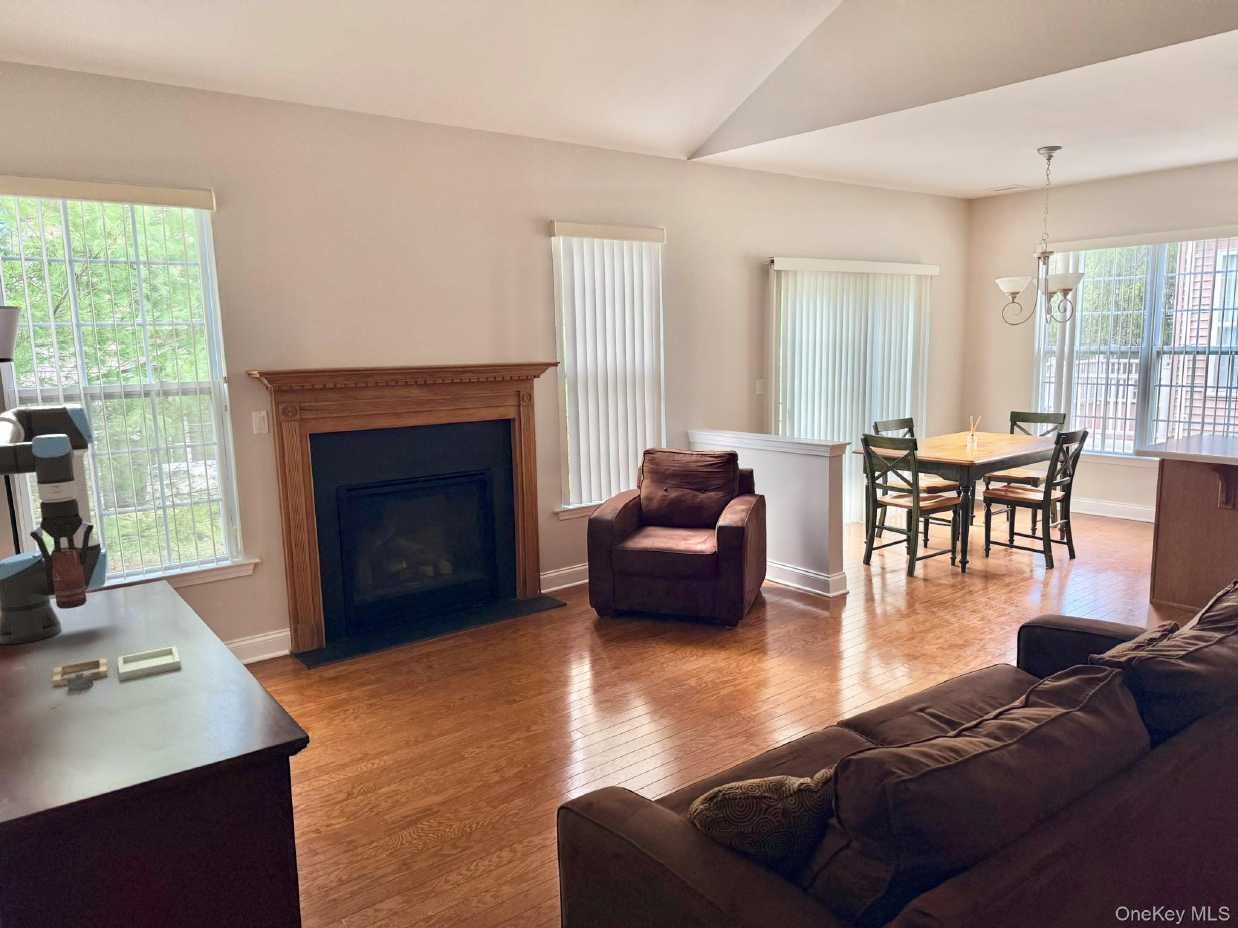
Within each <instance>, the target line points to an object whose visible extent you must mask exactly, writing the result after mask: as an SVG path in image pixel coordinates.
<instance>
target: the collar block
mask: <svg viewBox="0 0 1238 928" xmlns="http://www.w3.org/2000/svg"><path fill="white" fill-rule="evenodd" d="M96 667H98V668H99V669H95V670H91V671H85V672H77V673H74V674H71V675H63V674H65V673H72V672H76V671H82V670H87V669H92V668H96ZM108 671H109V669H108V659H107V656H105V657H104V656H103V657H98V658H93V659H89V660H88V659H87V660H83V661H78V662H73V663H66V664H63V665H57V666H54V668H53V677H52V682H53V683H52V684H53V688H56V687H60V686H65V685H67V689H68V691H70V692H79V691H84V690H88V689H90V688H92V687H93V686H94V681H93V680H96V679H100V678H105V677H109V675H108Z"/></svg>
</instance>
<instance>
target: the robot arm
mask: <svg viewBox="0 0 1238 928" xmlns="http://www.w3.org/2000/svg"><path fill="white" fill-rule="evenodd" d="M92 443H94V439H93V434H92V431H91V427H90V423H89V420H88V416H87V413H86V410H85V408H84V407H83V405H82V404H77V403H72V404H71V403H62V404H60V403H59V404H48V405H46V404H45V405H34V406H33V405H32V406H31V405H30V406H17V407H12V408H9V409H6V410H3V411H1V412H0V476H9V475H19V474H20V475H22V474H30V473H31V474H33V473H35V474H36V485H37V486H36V487H37V493H38V500H39V501H40V500H41V501H40V503H39V506H40V507H39V508H40V513H41V522H40V524H39V526H38V527H37V528H36V529H33V530H31V532H30V533H29V535H30V537H31V538H32V539H33V540H34V541H35V542H36V544H37V546H38V549H39V550H33V551H27V552H22V553H19V554H15V555H12V556H9V557H6V558H4V559H2V560H0V644H2V645H16V644H23V643H24V644H25V643H30V642H36V641H39V640H43V639H47V638H49V637H52V636H55V635H57V634H58V633H60V632H61V631H62V624H61V620H60V618H59V617H58V616H57V613H56V612H55V609H54V608H53V606H52V604H51V603H52V602H51V596H53V597H54V596H55V588H54V581H53V573H52V568H53V564H52V561H51V557H50V555H51V553H50V551H49V549H48V547H47V545H46V543H45V540H44V538H43V536H44V533H43V531H44V532H45V533H46V534H47V535H48V536H49V537H51V538H52V539H53V545H54V546H53V547H52V551H53V550H55V552H61V548H66V547H69V550H75V547H78V548H79V550H80V551H81V559H80V564H82V567H83V575H84V583H85V591H86V592H89V591H91V590H96V589H100V588H102V587H104V586H105V584H106V581H107V577H106V576H107V551H108V550H107V548H106V547H101V541H99V540H97V539H96V538H95V537H94V533H93V529H94V524H93V523H92V518H91V517H92V516H91V510H90V509H91V508H90V501H89V493H88V486H87V485H88V484H87V477H86V476H87V475H86V469H85V468H86V467H85V462H84V461H85V460H84V455H85V454H86V453H87V452H88V451H89V445H91V444H92Z"/></svg>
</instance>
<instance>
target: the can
mask: <svg viewBox="0 0 1238 928" xmlns="http://www.w3.org/2000/svg"><path fill="white" fill-rule="evenodd" d="M50 557H51V561H52V564H53V568H52V573H53V581H54V588H55V595H54V596H55V603H56V606H57V608H59V609H62V610H65V609H66V610H67V609H74V608H78V607H81V606H84V605H85V604H86V602H87V594H86V592H87V591H86V590H85V583H84V575H83V567H82V564H80V559H81V551H80V550H79V548H78V547H75V550H69V547H66V548H61V552H55V550H53V549H52V550H51V553H50Z"/></svg>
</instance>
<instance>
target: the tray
mask: <svg viewBox="0 0 1238 928" xmlns="http://www.w3.org/2000/svg"><path fill="white" fill-rule="evenodd" d="M117 662H118V675H119V681H125V680H132V679H137V678H141V677H145V676H151V675H155V674H159V673H165V672H170V671H175V670H180V669H182V668H181V660H180V656H179V653H178V649H177V646H176V645H174V646H170V647H163V648H158V649H153V650H148V651H143V652H142V651H141V652H138V653H133V654H128V655H122V656H117Z"/></svg>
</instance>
